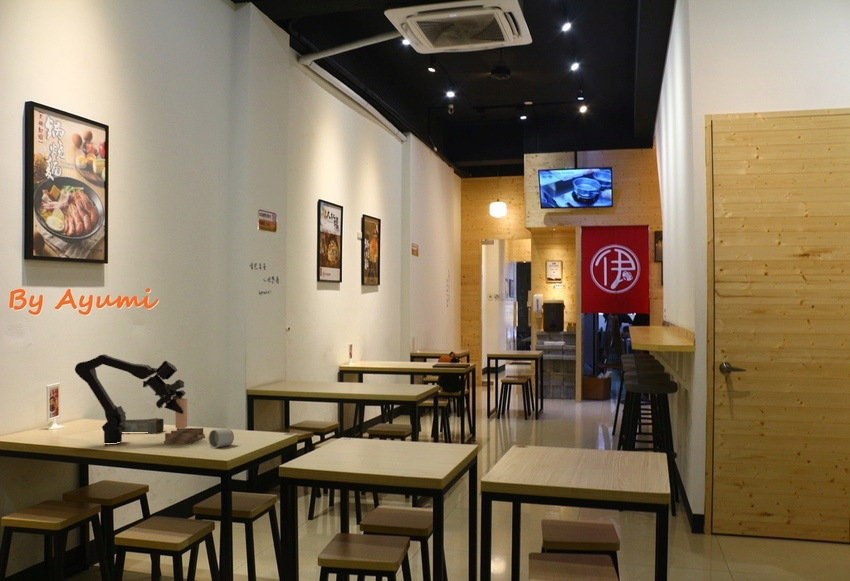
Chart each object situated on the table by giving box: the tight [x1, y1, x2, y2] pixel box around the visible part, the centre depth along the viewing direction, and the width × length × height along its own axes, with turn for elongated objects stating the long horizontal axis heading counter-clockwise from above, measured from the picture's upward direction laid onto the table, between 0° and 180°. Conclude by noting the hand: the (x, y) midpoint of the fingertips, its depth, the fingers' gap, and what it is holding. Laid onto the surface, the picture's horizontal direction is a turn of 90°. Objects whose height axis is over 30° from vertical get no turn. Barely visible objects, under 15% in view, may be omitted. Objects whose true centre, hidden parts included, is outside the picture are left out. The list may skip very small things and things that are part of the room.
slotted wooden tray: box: [163, 427, 206, 445], centre depth 308 cm, size 12×16×4 cm
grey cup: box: [208, 428, 235, 449], centre depth 294 cm, size 11×8×8 cm
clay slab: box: [174, 398, 188, 429], centre depth 305 cm, size 4×3×12 cm
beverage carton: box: [120, 417, 165, 434], centre depth 330 cm, size 8×19×7 cm, turn 88°
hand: (184, 412), depth 305 cm, fingers closed on clay slab, 3 cm apart
